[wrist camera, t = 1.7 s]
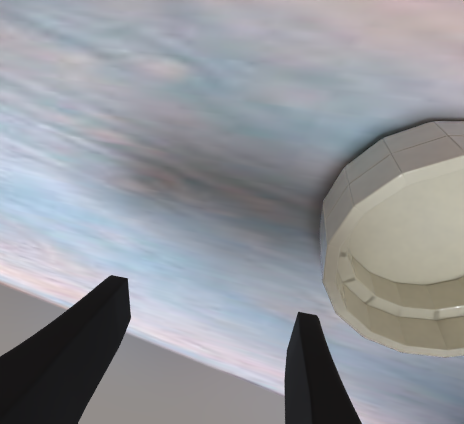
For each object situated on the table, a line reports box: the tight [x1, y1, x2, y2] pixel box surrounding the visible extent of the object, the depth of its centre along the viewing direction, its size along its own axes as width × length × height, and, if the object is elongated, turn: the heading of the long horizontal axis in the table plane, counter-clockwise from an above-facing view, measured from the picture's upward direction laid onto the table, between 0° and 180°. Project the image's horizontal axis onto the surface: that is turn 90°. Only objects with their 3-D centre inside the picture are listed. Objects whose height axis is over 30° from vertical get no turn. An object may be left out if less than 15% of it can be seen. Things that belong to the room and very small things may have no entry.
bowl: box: [319, 121, 464, 358], centre depth 17 cm, size 11×11×4 cm
